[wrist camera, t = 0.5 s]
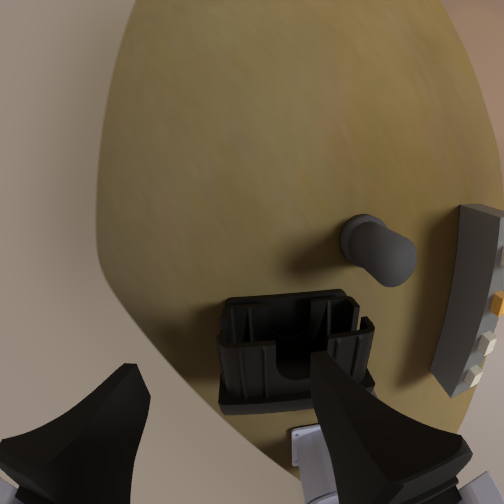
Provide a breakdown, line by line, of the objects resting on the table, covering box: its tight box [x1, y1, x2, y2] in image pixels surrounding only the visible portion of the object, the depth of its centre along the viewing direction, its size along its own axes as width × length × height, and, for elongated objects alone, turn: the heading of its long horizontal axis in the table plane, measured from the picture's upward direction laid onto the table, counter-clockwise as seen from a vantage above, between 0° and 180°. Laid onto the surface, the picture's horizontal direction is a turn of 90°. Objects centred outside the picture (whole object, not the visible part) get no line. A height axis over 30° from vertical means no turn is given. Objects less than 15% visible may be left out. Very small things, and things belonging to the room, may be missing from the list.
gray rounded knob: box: [339, 214, 417, 287], centre depth 16 cm, size 4×4×5 cm
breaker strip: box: [430, 204, 504, 398], centre depth 18 cm, size 18×3×6 cm, turn 6°
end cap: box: [216, 289, 375, 415], centre depth 18 cm, size 10×7×7 cm
